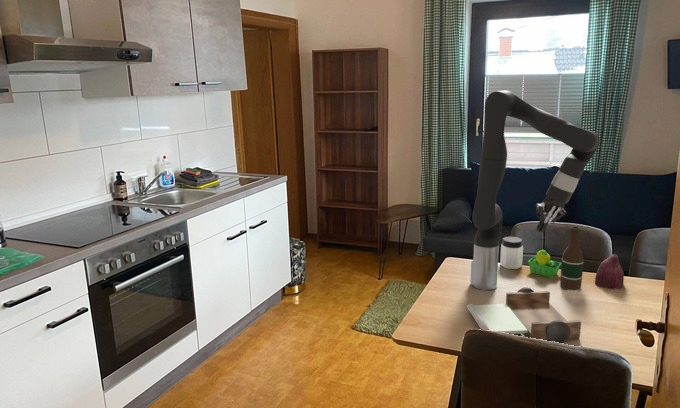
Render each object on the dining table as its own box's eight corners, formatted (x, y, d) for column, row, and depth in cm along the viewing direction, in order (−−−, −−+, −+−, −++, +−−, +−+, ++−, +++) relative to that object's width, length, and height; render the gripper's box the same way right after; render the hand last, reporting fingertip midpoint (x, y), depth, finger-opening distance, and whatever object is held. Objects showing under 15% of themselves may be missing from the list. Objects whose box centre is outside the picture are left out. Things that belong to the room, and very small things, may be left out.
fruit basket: (561, 274, 208) (563, 248, 205) (552, 280, 202) (554, 254, 199) (534, 267, 216) (536, 242, 213) (524, 273, 210) (526, 247, 207)
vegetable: (624, 296, 193) (638, 265, 186) (596, 291, 195) (608, 260, 187) (617, 280, 202) (630, 249, 194) (590, 275, 204) (602, 245, 196)
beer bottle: (555, 283, 199) (560, 225, 193) (574, 282, 200) (579, 224, 194) (565, 291, 191) (571, 231, 186) (585, 290, 192) (591, 230, 186)
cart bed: (545, 304, 181) (546, 286, 179) (582, 342, 155) (584, 321, 154) (503, 306, 181) (504, 288, 179) (534, 344, 155) (535, 323, 153)
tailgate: (506, 302, 176) (467, 303, 176) (527, 328, 158) (484, 330, 157) (505, 307, 177) (467, 309, 176) (527, 334, 158) (484, 336, 158)
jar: (500, 268, 216) (501, 241, 213) (500, 261, 224) (501, 235, 221) (522, 270, 213) (523, 243, 210) (521, 263, 221) (523, 237, 218)
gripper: (568, 185, 175) (546, 228, 181) (541, 178, 170) (518, 223, 176) (584, 194, 169) (560, 239, 175) (556, 187, 164) (532, 233, 170)
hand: (539, 231), depth 175 cm, fingers closed
